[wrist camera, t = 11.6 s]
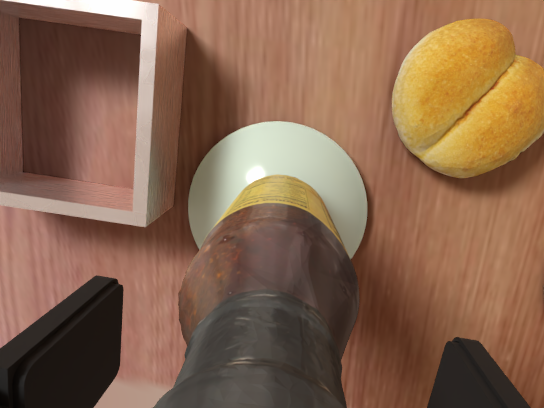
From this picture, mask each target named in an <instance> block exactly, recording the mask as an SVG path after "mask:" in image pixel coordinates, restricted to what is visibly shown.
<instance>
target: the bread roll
mask: <svg viewBox="0 0 544 408" xmlns="http://www.w3.org/2000/svg"><path fill="white" fill-rule="evenodd" d="M392 115H393V120H394V124H395V126H396V128H397V131H398V135H399V137H400V138H401V140H402V142H403V143H404V145H405V146H406V148H407V149H408V150H409V151H410V152H411V153H413V154H414V155H415V156H417V157H418V158H419V159H420V160H421V161H422V162H423V163H424V164H425V165H427V166H428V167H430V168H431V169H433V170H435V171H437V172H439V173H441V174H444V175H447V176H451V177H457V178H468V177H473V176H478V175H480V174H483V173H486V172H488V171H491V170H493V169H495V168H497V167H499V166H502V165H504V164H506V163H508V162H509V161H512V160H514V159H516V158H517V156H518V155H519V154H520V153H521V152H524V151H525V150H526V149H527V148H528V147H529V146H530V145H532V143H534V142H535V141H536V140H537V139H539V138H540V137H541V136H542V134H543V133H544V69H543V68H542V67H541V66H539V65H538V64H537V63H535V62H534V61H532V60H531V59H528V58H525V57H522V56H518V55H515V46H514V41H513V37H512V34H511V33H510V31H509V30H508V29H507V28H506V27H505V26H503V25H502V24H500V23H499V22H496V21H493V20H490V19H466V20H461V21H456V22H453V23H451V24H448V25H446V26H443V27H441V28H439V29H437V30H435V31H433V32H431V33H429V34H428V35H426V36H425V37H424V38H422V39H421V40H420V41H419V43H418V44H416V45H415V46H414V47H413V48H412V50H411V51H410V52H409V53H408V55H407V56H406V58H405V59H404V61H403V63H402V65H401V68H400V71H399V73H398V76H397V79H396V81H395V85H394V89H393V94H392Z"/></svg>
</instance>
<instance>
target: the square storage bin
mask: <svg viewBox="0 0 544 408" xmlns="http://www.w3.org/2000/svg"><path fill="white" fill-rule="evenodd" d="M19 18H26V19H33V20H40V21H47V22H54V23H61V24H68V25H75V26H83V27H90V28H97V29H104V30H111V31H118V32H125V33H132V34H140V35H141V46H140V67H139V88H138V109H137V129H136V150H135V171H134V189H132V188H126V187H119V186H112V185H106V184H99V183H92V182H86V181H79V180H72V179H66V178H59V177H52V176H46V175H39V174H32V173H26V172H23V151H22V114H21V77H20V40H19ZM186 37H187V27H186V26H185V25H184V24H182V23H181V22H180V21H179V20H178V19H176V18H175V17H174V16H173V15H171V14H170V13H169V12H168V11H166V10H165V9H164V8H163V7H161V6H160V5H159V4H154V3H146V2H139V1H132V0H0V205H3V206H10V207H16V208H23V209H29V210H36V211H42V212H49V213H56V214H62V215H69V216H75V217H82V218H88V219H95V220H101V221H108V222H115V223H121V224H128V225H134V226H141V227H147V226H148V225H149V224H151V223H152V222H153V221H155V220H156V219H157V218H158V217H160V216H161V215H162V214H164V213H165V212H166V211H168V210H169V209H170V208H171V207H173V206H174V194H175V181H176V168H177V155H178V142H179V129H180V115H181V102H182V89H183V76H184V63H185V50H186Z"/></svg>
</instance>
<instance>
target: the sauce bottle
mask: <svg viewBox="0 0 544 408" xmlns="http://www.w3.org/2000/svg"><path fill="white" fill-rule="evenodd" d="M178 306H179V321H180V324H181V331H182V335H183V338H184V340H185V341H186V344H187V349H186V352H185V362H184V364H183V366H182V369H181V371H180V373H179V375H178V377H177V380H176V382H175V385H174V387H173V388H172V389H171V390H170V391H168V392H167V393H166V394H165V395H164V396H163V397H162V398H161V399H160V400H159V401H158V402H157V404H156V405H155V406H154V407H153V408H347V407H346V401H345V397H344V393H343V388H342V383H341V373H342V365H341V359H342V356H343V353H344V350H345V348H346V345H347V342H348V340H349V337H350V334H351V332H352V329H353V327H354V324H355V322H356V318H357V315H358V309H359V286H358V281H357V276H356V273H355V270H354V267H353V264H352V262H351V259H350V257H349V255H348V253H347V250H346V248H345V246H344V244H343V242H342V240H341V238H340V235H339V233H338V231H337V229H336V227H335V225H334V223H333V220H332V219H331V216H330V214H329V212H328V210H327V208H326V206H325V204H324V202H323V200H322V199H321V197H320V195H319V194H318V193H317V192H316V191H315V190H314V189H313V188H312V187H311V186H310V185H308V184H307V183H305V182H303V181H302V180H299V179H298V178H295V177H291V176H287V175H279V174H276V175H271V176H266V177H263V178H260V179H257V180H255V181H253V182H252V183H251V184H249V185H248V186H246V187H245V188H244V189H243V190H242V191H241V193H240V194H239V195H238V196H237V197H236V199H235V200H234V201H233V202H232V204H231V205H230V206H229V208H228V209H227V210H226V211H225V213H224V214H223V215H222V217H221V218H220V219H219V221H218V222H217V223H216V224H215V226H214V227H213V228H212V230H211V231H210V232H209V234H208V235H207V236H206V238H205V239H204V242H203V244H202V246H201V248H200V250H199V252H198V253H197V254H196V255H195V256H194V258H193V259H192V261H191V263H190V265H189V267H188V269H187V271H186V275H185V278H184V279H183V283H182V286H181V289H180V291H179V303H178Z"/></svg>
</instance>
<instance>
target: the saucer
mask: <svg viewBox="0 0 544 408" xmlns="http://www.w3.org/2000/svg"><path fill="white" fill-rule="evenodd" d="M276 174H279V175H287V176H291V177H295V178H298V179H299V180H302V181H303V182H305V183H307V184H308V185H310V186H311V187H312V188H313V189H314V190H315V191H316V192H317V193H318V194H319V195H320V197H321V199H322V200H323V202H324V204H325V206H326V208H327V210H328V212H329V214H330V216H331V219H332V220H333V223H334V225H335V227H336V229H337V231H338V233H339V235H340V238H341V240H342V242H343V244H344V246H345V248H346V250H347V253H348V255H349V257H350V259H351V258H352V257H353V255H354V254H355V252H356V251H357V249H358V247H359V245H360V242H361V240H362V238H363V234H364V231H365V227H366V221H367V198H366V191H365V188H364V184H363V181H362V178H361V176H360V174H359V172H358V169H357V168H356V166H355V165H354V163H353V161H352V160H351V158H350V157H349V156H348V155H347V154H346V152H345V151H344V150H343V149H342V148H341V147H340V146H339V145H338V144H337V143H336V142H334V141H333V140H331V139H330V138H329V137H327V136H326V135H324V134H323V133H321V132H319V131H317V130H315V129H313V128H310V127H307V126H304V125H302V124H297V123H292V122H283V121H271V122H263V123H257V124H253V125H250V126H247V127H244V128H241V129H239V130H237V131H235V132H233V133H231V134H229V135H228V136H227V137H225V138H224V139H222V140H221V141H220V142H218V143H217V144H216V145H215V146H214V147H213V148H212V149H211V150H210V151H209V152H208V154H207V155H206V156H205V157H204V159H203V160H202V162H201V163H200V165H199V167H198V168H197V171H196V173H195V175H194V177H193V180H192V184H191V187H190V192H189V198H188V215H189V223H190V227H191V231H192V234H193V237H194V239H195V242H196V244H197V246H198V248H199V250H200V248H201V246H202V244H203V242H204V239H205V238H206V236H207V235H208V234H209V232H210V231H211V230H212V228H213V227H214V226H215V224H216V223H217V222H218V221H219V219H220V218H221V217H222V215H223V214H224V213H225V211H226V210H227V209H228V208H229V206H230V205H231V204H232V202H233V201H234V200H235V199H236V197H237V196H238V195H239V194H240V193H241V191H242V190H243V189H244V188H245V187H246V186H248V185H249V184H251V183H252V182H253V181H255V180H257V179H260V178H263V177H266V176H271V175H276Z"/></svg>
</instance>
